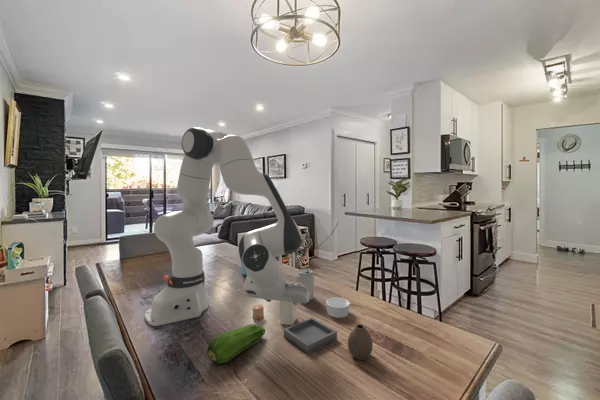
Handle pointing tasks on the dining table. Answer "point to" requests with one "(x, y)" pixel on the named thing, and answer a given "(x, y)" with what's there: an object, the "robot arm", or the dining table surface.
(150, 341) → the dining table surface
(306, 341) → the tray
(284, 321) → the cream block
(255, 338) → the vegetable
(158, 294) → the robot arm
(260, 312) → the tan small cylinder
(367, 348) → the vase
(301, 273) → the can
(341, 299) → the ramekin
